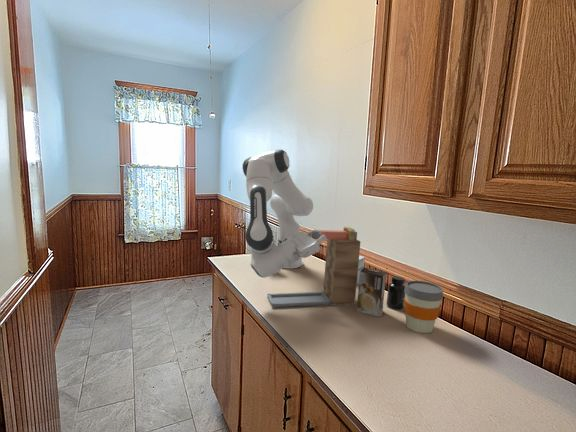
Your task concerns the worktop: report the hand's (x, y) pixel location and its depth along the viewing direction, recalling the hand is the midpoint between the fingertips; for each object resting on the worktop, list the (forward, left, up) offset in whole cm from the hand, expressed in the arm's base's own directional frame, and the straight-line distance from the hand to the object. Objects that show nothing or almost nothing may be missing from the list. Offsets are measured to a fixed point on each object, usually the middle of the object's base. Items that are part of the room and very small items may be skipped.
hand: (321, 233), depth 130 cm
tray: (0, -7, -28) cm, 29 cm away
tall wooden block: (0, +10, -28) cm, 30 cm away
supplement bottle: (+9, +31, -28) cm, 43 cm away
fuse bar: (0, +6, -2) cm, 6 cm away
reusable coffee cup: (+26, +30, -28) cm, 49 cm away
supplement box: (-20, +26, -28) cm, 43 cm away
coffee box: (+12, +18, -28) cm, 35 cm away
